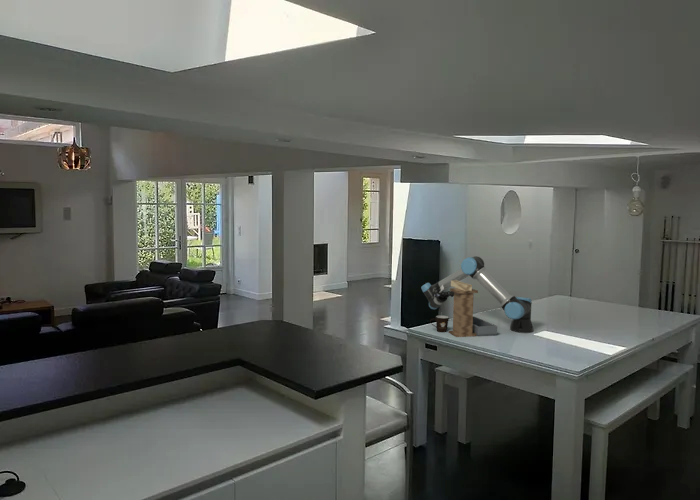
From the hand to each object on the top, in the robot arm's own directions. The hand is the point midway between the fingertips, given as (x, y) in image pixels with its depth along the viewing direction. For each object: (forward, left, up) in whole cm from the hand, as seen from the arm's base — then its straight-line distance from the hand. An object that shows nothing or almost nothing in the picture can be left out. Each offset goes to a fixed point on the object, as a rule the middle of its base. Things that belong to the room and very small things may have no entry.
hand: (452, 287), depth 364 cm
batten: (-1, +12, +1) cm, 12 cm away
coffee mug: (+11, +4, -29) cm, 31 cm away
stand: (-1, +16, -29) cm, 33 cm away
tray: (-16, +6, -29) cm, 34 cm away
